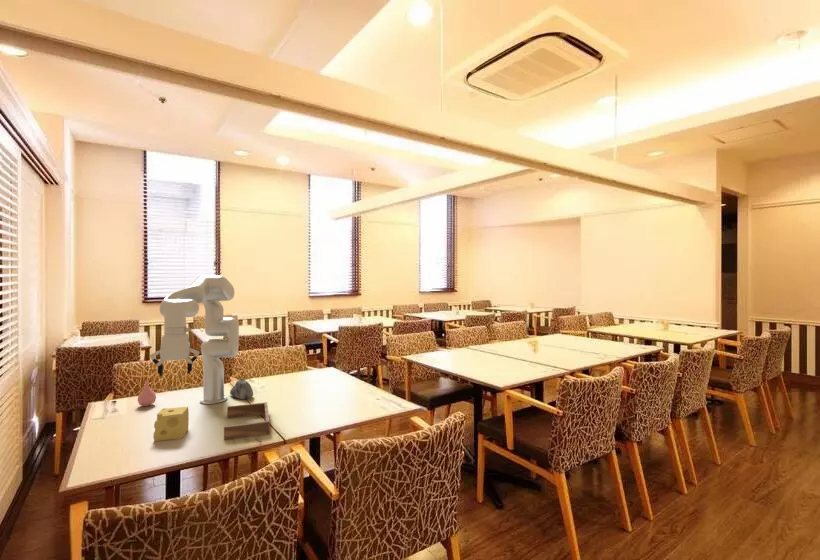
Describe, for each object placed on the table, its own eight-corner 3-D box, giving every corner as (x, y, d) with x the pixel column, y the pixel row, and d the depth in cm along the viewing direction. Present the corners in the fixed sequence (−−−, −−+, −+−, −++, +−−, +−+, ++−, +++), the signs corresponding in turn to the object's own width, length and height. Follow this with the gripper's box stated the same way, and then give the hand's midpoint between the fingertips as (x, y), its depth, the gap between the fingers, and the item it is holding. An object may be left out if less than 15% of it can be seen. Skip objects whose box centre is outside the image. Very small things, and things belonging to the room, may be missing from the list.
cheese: (153, 441, 157) (153, 416, 157) (162, 431, 168) (162, 407, 168) (183, 439, 160) (182, 414, 160) (190, 428, 171) (189, 405, 170)
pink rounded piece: (149, 408, 195) (149, 383, 195) (133, 408, 195) (133, 383, 195) (159, 403, 203) (159, 379, 203) (144, 403, 203) (144, 379, 203)
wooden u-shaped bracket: (227, 417, 184) (227, 406, 183) (267, 412, 190) (267, 402, 190) (224, 440, 159) (223, 427, 159) (269, 434, 165) (269, 421, 165)
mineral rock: (229, 394, 217) (229, 376, 217) (250, 392, 222) (250, 374, 222) (231, 401, 206) (231, 382, 206) (254, 398, 211) (254, 379, 211)
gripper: (200, 329, 169) (200, 370, 169) (151, 331, 162) (151, 374, 162) (198, 331, 162) (198, 374, 162) (148, 333, 155) (148, 378, 155)
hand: (175, 374), depth 162 cm, fingers open, 9 cm apart
